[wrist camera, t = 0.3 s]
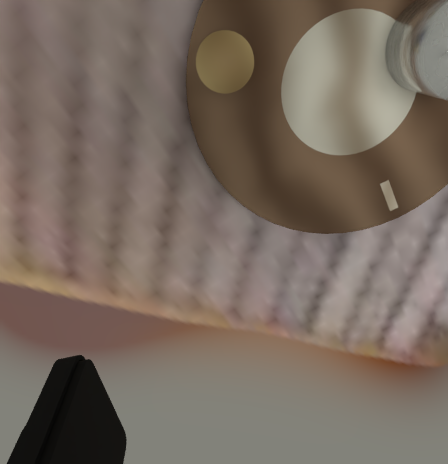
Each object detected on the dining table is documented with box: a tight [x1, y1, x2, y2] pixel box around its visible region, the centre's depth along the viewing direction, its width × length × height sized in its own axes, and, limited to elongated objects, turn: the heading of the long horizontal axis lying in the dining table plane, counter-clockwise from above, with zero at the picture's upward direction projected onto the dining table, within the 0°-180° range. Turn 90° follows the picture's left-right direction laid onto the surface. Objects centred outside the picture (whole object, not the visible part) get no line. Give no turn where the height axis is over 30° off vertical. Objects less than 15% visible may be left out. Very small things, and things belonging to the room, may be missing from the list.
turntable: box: [186, 0, 448, 234], centre depth 30 cm, size 26×26×8 cm
